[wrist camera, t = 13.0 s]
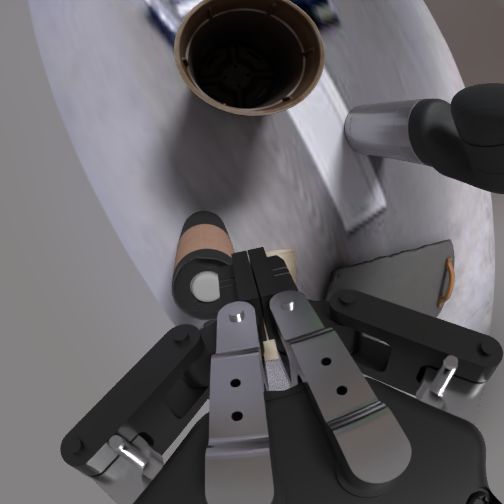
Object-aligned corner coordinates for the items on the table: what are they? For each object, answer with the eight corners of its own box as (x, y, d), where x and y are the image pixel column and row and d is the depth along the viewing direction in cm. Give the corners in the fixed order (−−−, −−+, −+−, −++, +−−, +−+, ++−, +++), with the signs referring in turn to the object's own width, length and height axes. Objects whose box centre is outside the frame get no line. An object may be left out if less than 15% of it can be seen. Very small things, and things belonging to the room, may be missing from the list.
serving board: (317, 353, 63) (326, 371, 57) (315, 265, 54) (328, 280, 48) (439, 308, 67) (452, 320, 61) (452, 232, 58) (469, 240, 52)
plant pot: (164, 100, 38) (145, 79, 23) (212, 20, 34) (220, -30, 19) (257, 141, 43) (286, 142, 29) (300, 62, 39) (345, 32, 24)
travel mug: (220, 257, 49) (234, 326, 31) (176, 248, 47) (165, 315, 29) (231, 214, 47) (253, 264, 29) (186, 204, 45) (177, 249, 27)
